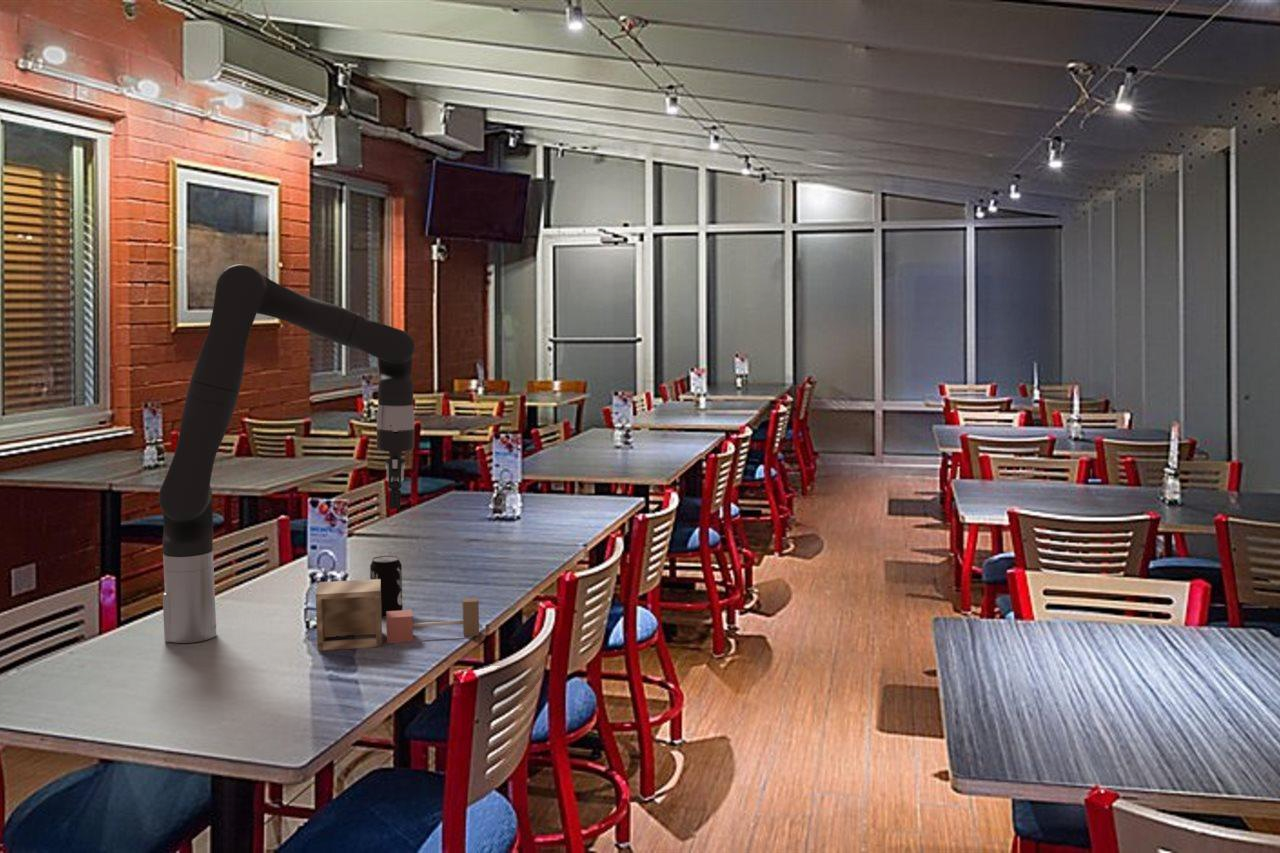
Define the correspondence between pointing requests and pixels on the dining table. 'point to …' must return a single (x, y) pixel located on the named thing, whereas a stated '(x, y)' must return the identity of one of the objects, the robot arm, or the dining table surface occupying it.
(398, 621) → the corded block
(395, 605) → the beverage can
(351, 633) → the oak shelf
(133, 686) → the dining table surface
